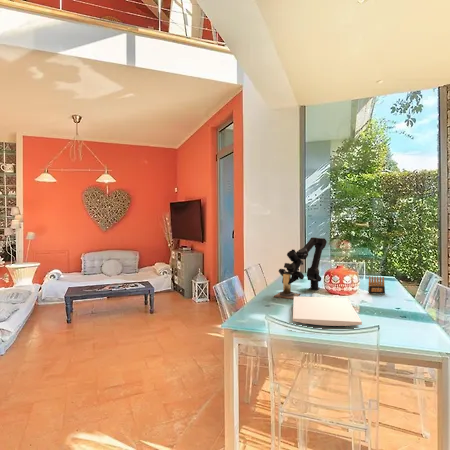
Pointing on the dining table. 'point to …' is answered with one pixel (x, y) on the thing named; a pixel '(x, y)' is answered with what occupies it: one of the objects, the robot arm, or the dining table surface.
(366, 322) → the dining table surface
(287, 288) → the brass roller
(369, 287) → the ammunition clip
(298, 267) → the robot arm
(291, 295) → the collar plate
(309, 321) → the board
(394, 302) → the dining table surface
